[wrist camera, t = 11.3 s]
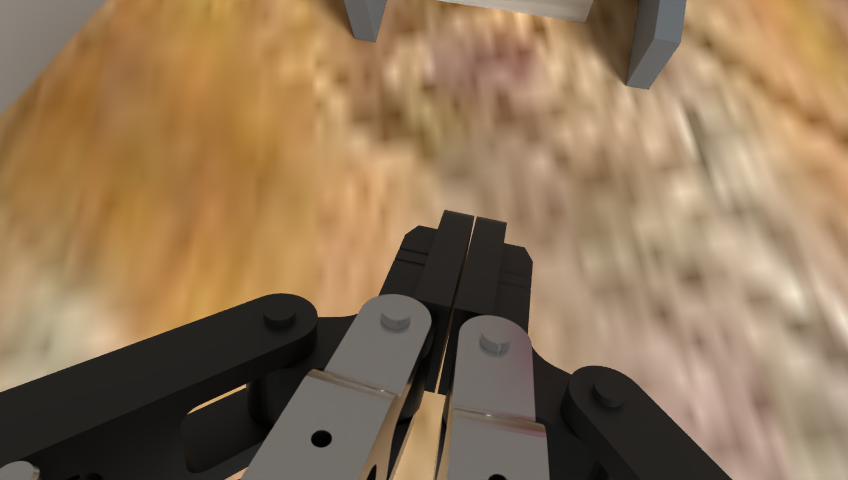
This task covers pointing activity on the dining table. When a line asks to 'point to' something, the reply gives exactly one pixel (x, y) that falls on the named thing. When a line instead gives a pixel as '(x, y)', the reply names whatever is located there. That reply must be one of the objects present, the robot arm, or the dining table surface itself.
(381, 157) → the dining table surface
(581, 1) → the cream block
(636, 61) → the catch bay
